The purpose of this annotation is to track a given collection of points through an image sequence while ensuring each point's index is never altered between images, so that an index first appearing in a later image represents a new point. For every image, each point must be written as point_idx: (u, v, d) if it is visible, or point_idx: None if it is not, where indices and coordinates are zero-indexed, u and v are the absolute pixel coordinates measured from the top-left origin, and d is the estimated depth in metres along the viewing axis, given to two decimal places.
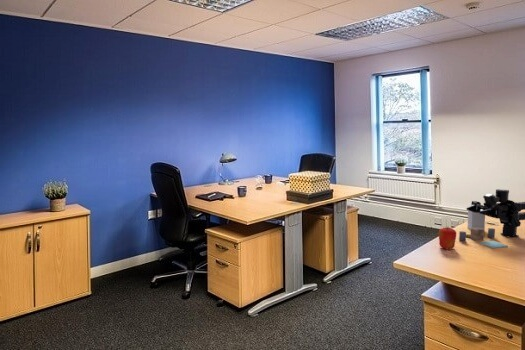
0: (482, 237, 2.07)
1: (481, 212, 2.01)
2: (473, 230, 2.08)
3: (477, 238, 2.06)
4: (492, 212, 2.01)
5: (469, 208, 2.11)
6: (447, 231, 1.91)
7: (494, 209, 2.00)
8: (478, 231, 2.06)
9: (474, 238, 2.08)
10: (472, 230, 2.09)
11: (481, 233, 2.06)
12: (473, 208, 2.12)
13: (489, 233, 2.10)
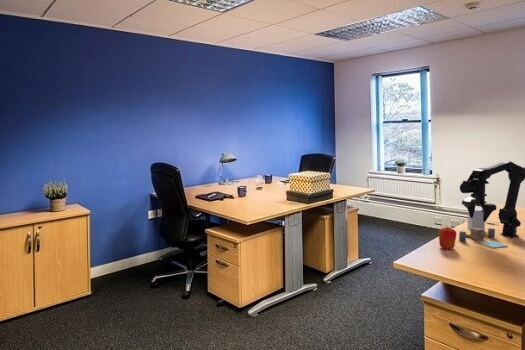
0: (482, 237, 2.07)
1: (485, 220, 2.03)
2: (473, 230, 2.08)
3: (477, 238, 2.06)
4: None
5: (471, 215, 2.12)
6: (447, 231, 1.91)
7: None
8: (478, 231, 2.06)
9: (474, 238, 2.08)
10: (472, 230, 2.09)
11: (481, 233, 2.06)
12: (471, 209, 2.12)
13: (489, 233, 2.10)
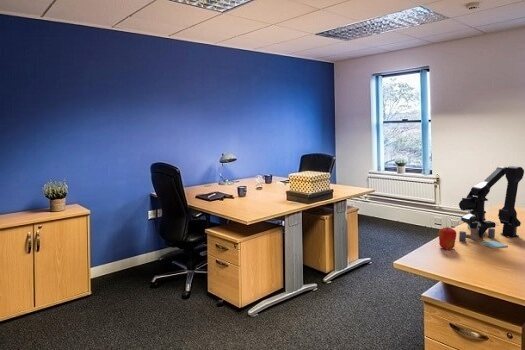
0: (482, 237, 2.07)
1: (481, 236, 2.06)
2: (473, 230, 2.08)
3: (477, 238, 2.06)
4: None
5: None
6: (447, 231, 1.91)
7: (482, 227, 2.02)
8: (478, 231, 2.06)
9: (474, 238, 2.08)
10: (472, 230, 2.09)
11: None
12: (474, 227, 2.11)
13: (489, 233, 2.10)
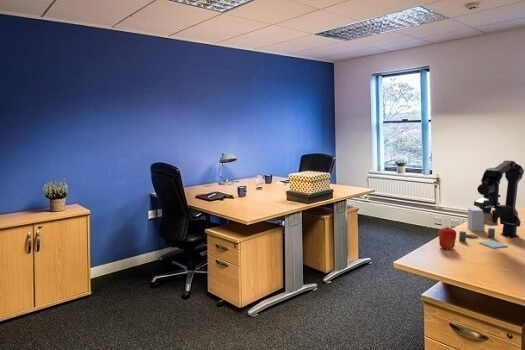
0: (496, 222, 1.97)
1: (495, 221, 1.96)
2: (486, 215, 1.98)
3: (491, 223, 1.96)
4: (498, 211, 1.94)
5: None
6: (447, 231, 1.91)
7: (497, 212, 1.92)
8: (492, 216, 1.96)
9: (487, 223, 1.98)
10: (485, 215, 1.99)
11: None
12: (487, 211, 2.01)
13: (489, 233, 2.10)
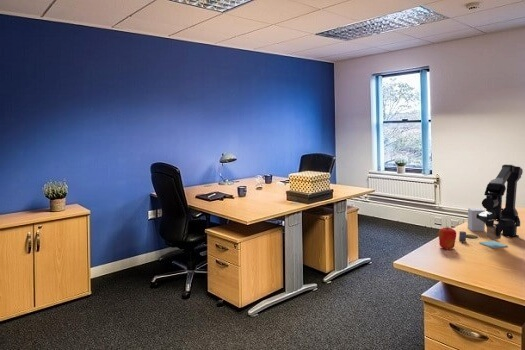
0: (499, 235, 1.96)
1: (498, 235, 1.95)
2: (489, 228, 1.97)
3: (494, 237, 1.95)
4: None
5: None
6: (447, 231, 1.91)
7: (500, 225, 1.91)
8: (495, 229, 1.95)
9: (491, 237, 1.97)
10: (488, 228, 1.98)
11: None
12: (490, 225, 2.00)
13: None
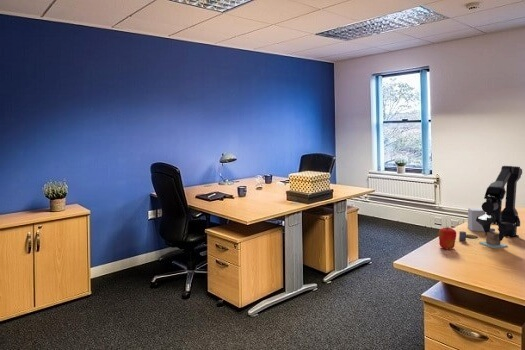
0: (499, 242, 1.96)
1: (501, 239, 1.93)
2: (489, 234, 1.97)
3: (493, 243, 1.96)
4: None
5: None
6: (447, 231, 1.91)
7: None
8: (495, 235, 1.95)
9: (490, 243, 1.97)
10: (488, 234, 1.98)
11: (497, 237, 1.96)
12: (487, 227, 2.02)
13: None
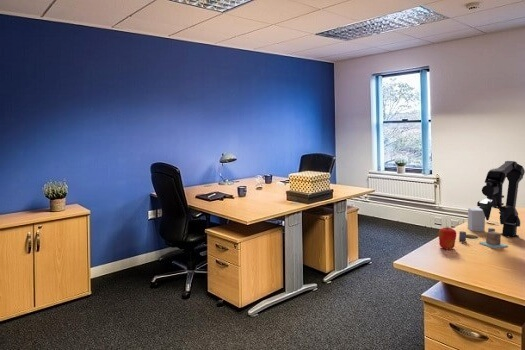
0: (499, 242, 1.96)
1: (502, 223, 1.94)
2: (489, 234, 1.97)
3: (493, 243, 1.96)
4: None
5: (487, 217, 2.03)
6: (447, 231, 1.91)
7: (504, 213, 1.91)
8: (495, 235, 1.95)
9: (490, 243, 1.97)
10: (488, 234, 1.98)
11: (497, 237, 1.96)
12: (487, 211, 2.03)
13: None
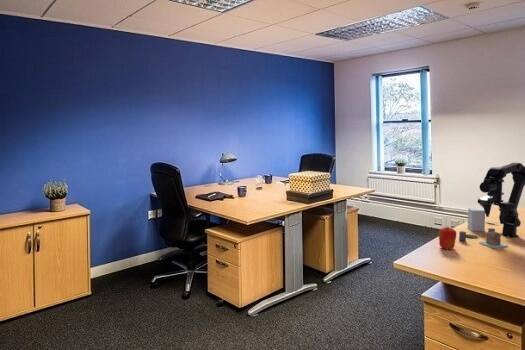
0: (499, 242, 1.96)
1: (502, 219, 2.00)
2: (489, 234, 1.97)
3: (493, 243, 1.96)
4: (505, 209, 1.98)
5: (487, 213, 2.09)
6: (447, 231, 1.91)
7: None
8: (495, 235, 1.95)
9: (490, 243, 1.97)
10: (488, 234, 1.98)
11: (497, 237, 1.96)
12: (487, 208, 2.09)
13: None
